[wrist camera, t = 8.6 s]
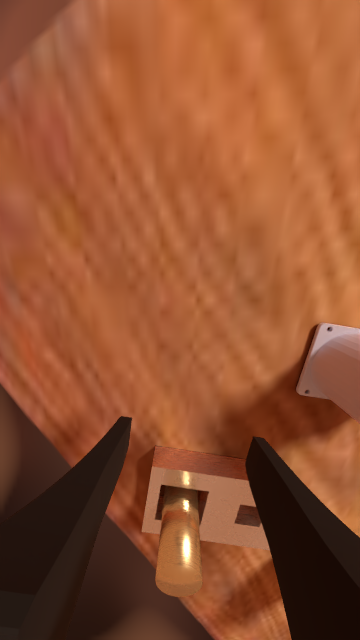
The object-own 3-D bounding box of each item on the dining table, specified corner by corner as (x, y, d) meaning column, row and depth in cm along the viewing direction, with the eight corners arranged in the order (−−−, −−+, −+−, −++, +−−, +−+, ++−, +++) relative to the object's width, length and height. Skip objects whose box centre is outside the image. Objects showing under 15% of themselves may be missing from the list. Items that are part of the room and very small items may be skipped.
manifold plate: (285, 465, 23) (297, 487, 20) (263, 523, 25) (272, 550, 22) (155, 445, 22) (152, 466, 20) (145, 506, 25) (141, 531, 22)
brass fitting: (194, 467, 23) (199, 564, 15) (198, 491, 24) (205, 595, 16) (162, 470, 23) (151, 567, 15) (168, 494, 24) (159, 598, 16)
